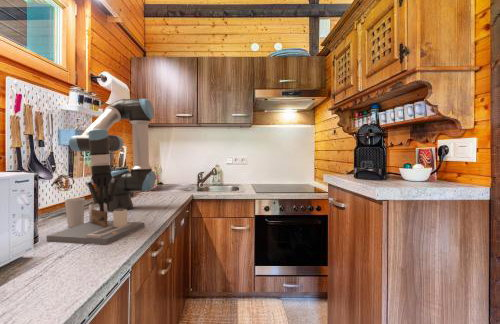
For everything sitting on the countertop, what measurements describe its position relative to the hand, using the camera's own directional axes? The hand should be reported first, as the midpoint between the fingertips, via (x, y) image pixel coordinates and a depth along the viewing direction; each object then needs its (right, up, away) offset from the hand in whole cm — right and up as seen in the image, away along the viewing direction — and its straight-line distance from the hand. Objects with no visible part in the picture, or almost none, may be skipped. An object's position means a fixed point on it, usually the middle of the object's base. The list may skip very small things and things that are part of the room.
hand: (104, 218), depth 122 cm
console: (+1, -5, -7) cm, 9 cm away
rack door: (-2, -2, -2) cm, 4 cm away
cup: (-17, -5, +7) cm, 19 cm away
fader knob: (+9, -2, -5) cm, 10 cm away
